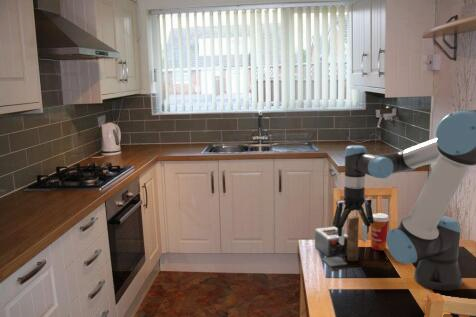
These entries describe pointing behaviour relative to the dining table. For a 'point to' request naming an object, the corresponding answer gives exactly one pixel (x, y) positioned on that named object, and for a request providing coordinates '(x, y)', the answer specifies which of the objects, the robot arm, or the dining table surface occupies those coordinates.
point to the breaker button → (333, 242)
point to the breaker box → (324, 242)
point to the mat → (334, 261)
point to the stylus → (352, 238)
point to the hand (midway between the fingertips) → (352, 242)
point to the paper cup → (379, 231)
